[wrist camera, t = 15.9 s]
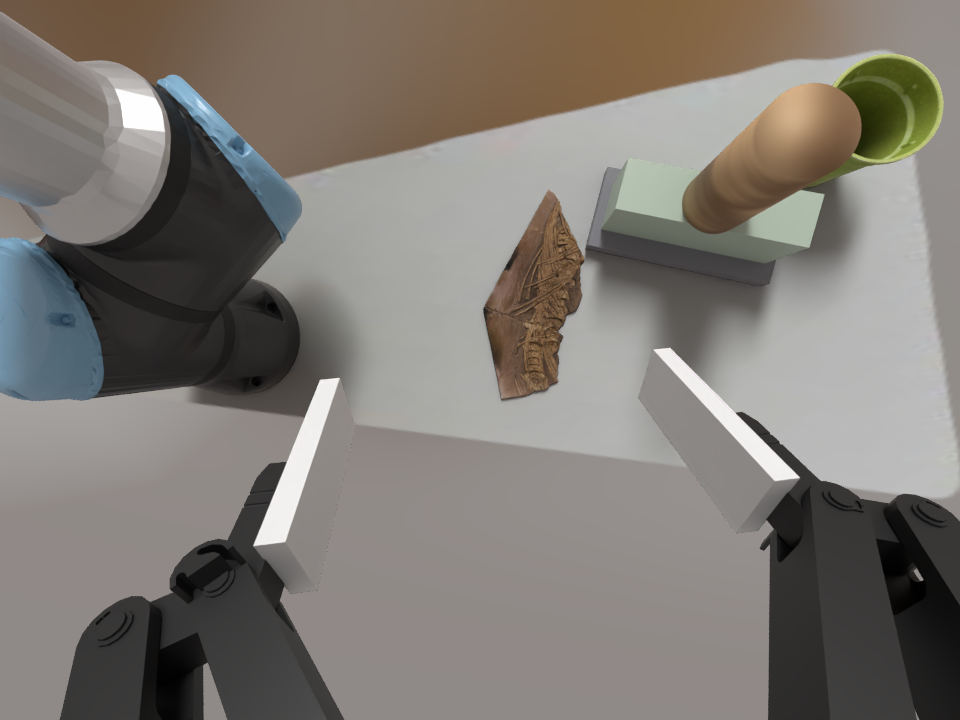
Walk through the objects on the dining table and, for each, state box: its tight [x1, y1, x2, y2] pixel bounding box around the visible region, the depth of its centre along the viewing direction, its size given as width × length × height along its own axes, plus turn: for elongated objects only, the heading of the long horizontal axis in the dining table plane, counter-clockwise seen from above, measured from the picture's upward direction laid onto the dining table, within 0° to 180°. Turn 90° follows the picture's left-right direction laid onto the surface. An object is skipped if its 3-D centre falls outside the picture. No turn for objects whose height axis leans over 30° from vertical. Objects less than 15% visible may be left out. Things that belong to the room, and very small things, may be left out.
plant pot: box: [805, 54, 944, 188], centre depth 35 cm, size 9×9×9 cm
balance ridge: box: [585, 158, 825, 286], centre depth 38 cm, size 20×9×8 cm, turn 76°
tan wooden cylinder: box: [682, 83, 862, 234], centre depth 28 cm, size 6×6×11 cm
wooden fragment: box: [483, 190, 584, 400], centre depth 43 cm, size 26×11×1 cm, turn 165°
